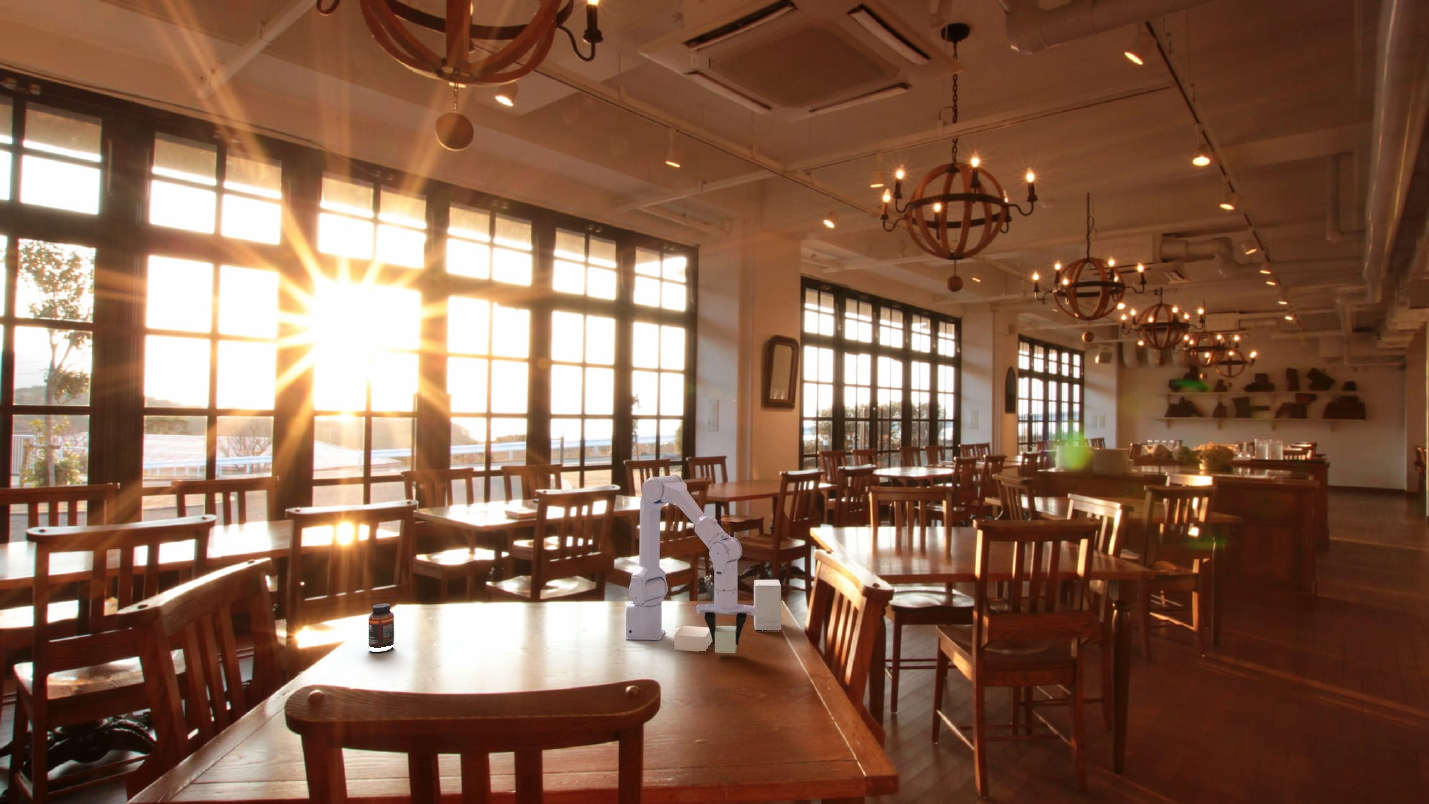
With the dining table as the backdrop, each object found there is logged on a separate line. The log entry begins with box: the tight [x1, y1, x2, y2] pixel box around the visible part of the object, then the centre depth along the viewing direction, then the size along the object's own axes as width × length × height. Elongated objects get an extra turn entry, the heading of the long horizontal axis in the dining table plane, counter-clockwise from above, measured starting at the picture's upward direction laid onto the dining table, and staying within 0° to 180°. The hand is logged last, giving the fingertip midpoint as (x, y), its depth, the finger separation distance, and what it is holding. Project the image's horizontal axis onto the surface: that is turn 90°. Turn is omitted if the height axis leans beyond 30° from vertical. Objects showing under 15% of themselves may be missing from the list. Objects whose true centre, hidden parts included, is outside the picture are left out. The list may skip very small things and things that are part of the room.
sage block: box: [714, 625, 737, 654], centre depth 176 cm, size 5×5×5 cm
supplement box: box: [753, 579, 782, 632], centre depth 200 cm, size 7×7×13 cm
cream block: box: [673, 625, 713, 652], centre depth 185 cm, size 8×8×4 cm
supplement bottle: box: [368, 603, 395, 648], centre depth 182 cm, size 6×6×11 cm
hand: (725, 643), depth 176 cm, fingers closed on sage block, 5 cm apart
